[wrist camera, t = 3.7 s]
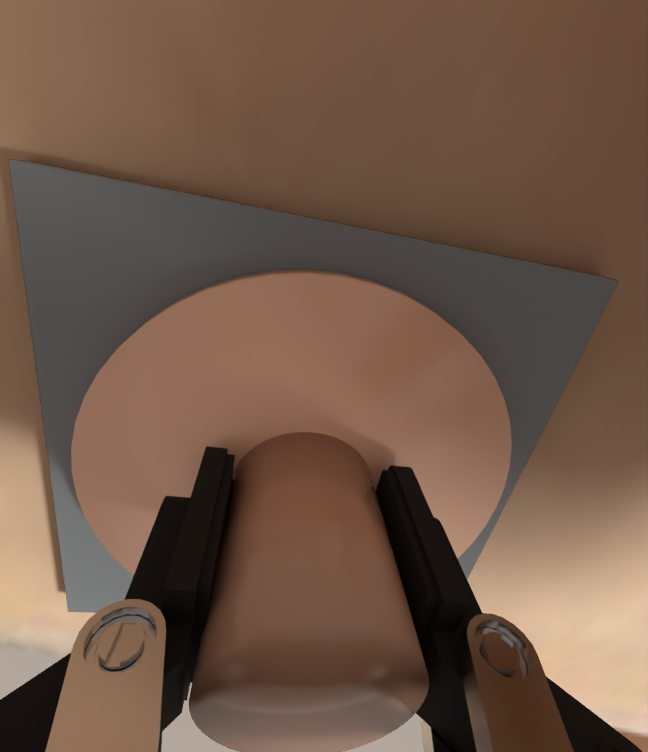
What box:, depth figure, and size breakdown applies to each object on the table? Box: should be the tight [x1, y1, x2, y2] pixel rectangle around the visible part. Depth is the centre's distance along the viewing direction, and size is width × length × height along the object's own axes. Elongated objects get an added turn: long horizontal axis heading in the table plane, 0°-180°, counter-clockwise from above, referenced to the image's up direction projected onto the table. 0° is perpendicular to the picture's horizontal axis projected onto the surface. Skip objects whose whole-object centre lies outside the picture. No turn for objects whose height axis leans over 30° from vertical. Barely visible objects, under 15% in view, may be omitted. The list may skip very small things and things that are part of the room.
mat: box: [9, 159, 619, 613], centre depth 12 cm, size 14×14×1 cm
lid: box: [71, 269, 512, 752], centre depth 9 cm, size 12×12×6 cm
